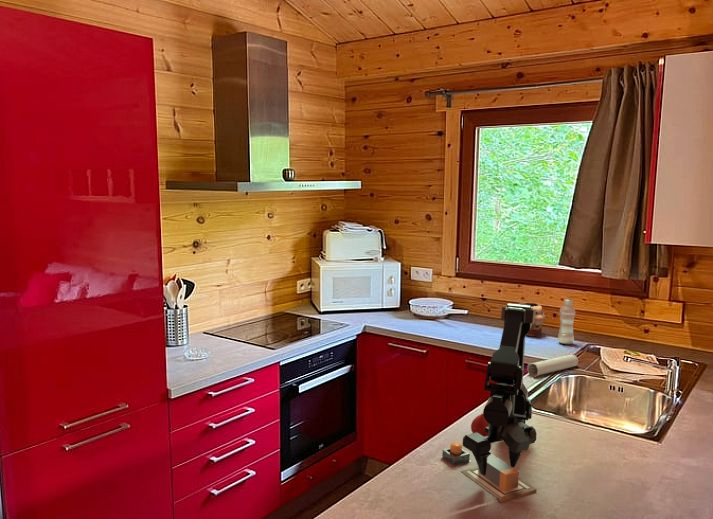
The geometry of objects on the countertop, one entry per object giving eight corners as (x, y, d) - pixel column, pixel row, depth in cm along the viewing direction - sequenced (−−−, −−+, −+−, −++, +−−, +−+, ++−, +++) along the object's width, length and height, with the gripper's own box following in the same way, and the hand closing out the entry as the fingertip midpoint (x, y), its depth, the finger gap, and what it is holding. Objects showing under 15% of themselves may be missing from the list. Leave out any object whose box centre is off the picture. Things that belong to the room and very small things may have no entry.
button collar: (457, 453, 166) (458, 444, 166) (471, 463, 161) (472, 454, 160) (439, 458, 163) (439, 449, 163) (453, 468, 158) (453, 458, 158)
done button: (457, 449, 164) (457, 441, 163) (464, 454, 161) (464, 446, 161) (447, 452, 162) (448, 443, 162) (454, 457, 160) (455, 448, 159)
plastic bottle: (575, 346, 268) (579, 301, 265) (559, 345, 269) (563, 300, 265) (570, 341, 275) (574, 297, 272) (555, 341, 275) (558, 297, 272)
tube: (568, 353, 245) (525, 363, 231) (579, 352, 241) (536, 362, 227) (570, 367, 244) (528, 377, 230) (582, 366, 240) (539, 377, 226)
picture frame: (494, 464, 161) (494, 461, 160) (536, 491, 148) (536, 488, 147) (460, 473, 155) (460, 470, 155) (500, 502, 142) (500, 499, 142)
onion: (466, 437, 176) (467, 410, 175) (483, 434, 178) (484, 407, 177) (477, 445, 171) (479, 418, 170) (495, 442, 173) (496, 415, 172)
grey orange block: (490, 468, 157) (491, 453, 156) (518, 487, 148) (519, 471, 147) (478, 472, 155) (478, 456, 154) (504, 491, 146) (505, 474, 145)
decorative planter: (502, 328, 295) (504, 300, 292) (522, 326, 300) (524, 298, 298) (531, 339, 277) (533, 309, 275) (552, 337, 282) (554, 307, 280)
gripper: (493, 430, 137) (489, 495, 140) (555, 415, 146) (550, 477, 148) (462, 411, 147) (459, 473, 149) (522, 399, 156) (518, 457, 158)
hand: (498, 470), depth 151 cm, fingers open, 9 cm apart
